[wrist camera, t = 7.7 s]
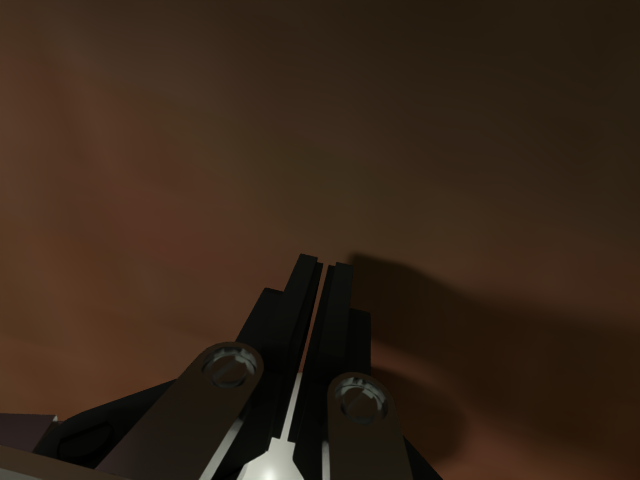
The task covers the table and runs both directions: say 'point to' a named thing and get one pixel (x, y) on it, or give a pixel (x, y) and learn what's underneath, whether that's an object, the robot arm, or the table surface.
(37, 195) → the table surface
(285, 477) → the cue ball
